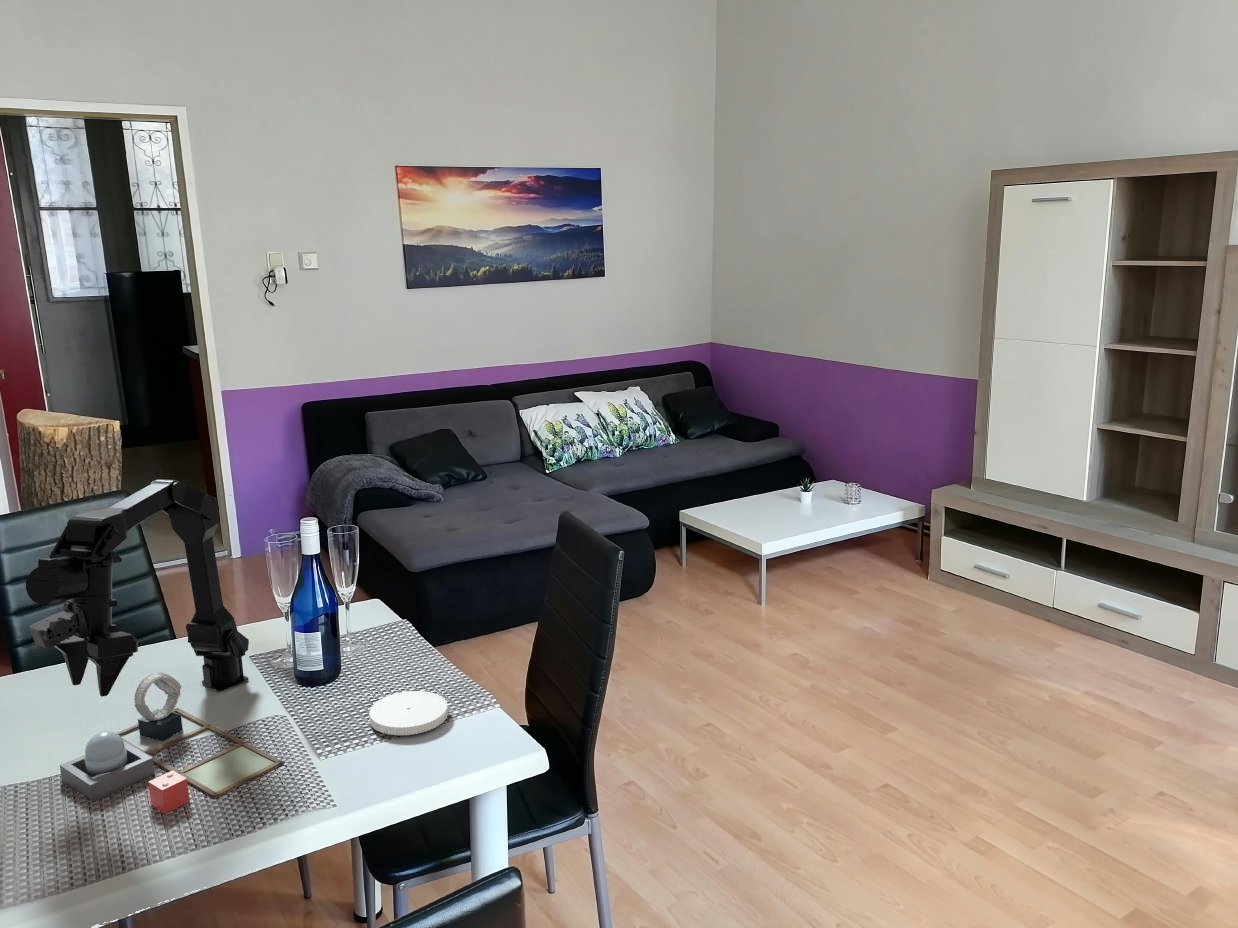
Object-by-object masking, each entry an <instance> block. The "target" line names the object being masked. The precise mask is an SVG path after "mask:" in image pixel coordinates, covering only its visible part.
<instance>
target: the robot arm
mask: <svg viewBox="0 0 1238 928" xmlns="http://www.w3.org/2000/svg"><path fill="white" fill-rule="evenodd" d="M159 512H162V513H164V514H166V515H167V516H168V520H169V522H170V526H171V528H172V530H173V531H174V532H175V534H176V535H177V536H178V537H179V539H180V540H181V541H182V542H183V545H184V551H185V555H186V562H187V569H188V574H189V580H190V581H189V582H190V586H191V593H192V599H193V604H194V614H193V616H192V618H191V620H190V621H189V622H188V623H186V626H185V629H186V633H187V643H189V645H190V647H191V648H192V649H193V651H194V654H195V656H196V657H203V664H202V666H201V668H202V677H203V680H201V684H202V685H203V686H205V687H208V688H211V689H213V690H215V691H217V692H224V691H225V690H229V689H230V688H231V689H232V688H233V687H236V686H238V685H241V684H243V683H245V682H247V681H249V677H248V676H247V675H244V668H243V667H244V666H243V657H244V656H246V652H248V650H249V644H250V643H249V642H250V641H249V638H247V637H246V636H245V635H243V634H242V633H241V632H239V631H238V627H237V624H236V620H235V618H234V615H232V614H231V613H230V611H229V610H228V609H227V608H226V607H225V605H224V603H223V596H222V595H223V594H222V589H221V582H220V577H219V570H218V564H217V557H216V552H215V545H214V538H213V537H214V535H215V532H216V531H217V528H218V526H219V523H220V506H219V502H218V499H217V498H216V497H215V496H213V495H212V494H206V493H204V492H202V491H201V490H197V489H194V488H192V487H189V486H187V485H186V484H185V483H183V482H181V481H179V480H175V479H159V478H158V479H155V480H152V481H151V482H150V483H149V485H147V486H146V487H144V488H142V489H140V490H138V491H136V492H134V493H132V494H131V495H129V496H127V497H125V498H124V499H122V500H120V501H118V502H117V503H115V504H113V505H111V506H109V507H107V508H103V509H96V510H90V511H86V512H83V513H78V514H76V515H74V516H72V517H71V518H70V519H68V521H67V522H66V526H65V527H64V530H63V531H62V533H61V535H60V537H59V539H58V540H57V541H56V544H55V546H54V548H53V549H52V551H51V553H50V554H49V558H45V557H44V558H39V559H38V560H37V567H35V568H34V569H32V570H31V571H30V573H29V575H28V576H27V579H26V581H25V590H26V593H27V595H28V597H29V599H31V600H32V601H33V602H34V603H35V604H38V605H41V606H42V605H43V606H44V605H48V604H54V603H58V602H62V601H65V602H64V603H63V610H62V611H60V612H57V613H54V614H51V615H49V616H47V617H45V618H43V619H40V620H39V621H36V622H34V623H32V624H30V625H29V627H28V628H29V631H30V634H31V636H32V637H33V640H34V644H35V645H36V646H40V647H43V649H51V648H53V647H54V648H55V649H57V650H58V651H60V653H62V656H63V659H64V661H65V665H66V669H67V671H68V675H69V678H70V681H71V684H72V686H79V685H81V684H82V681H83V678H84V676H85V673H86V669H87V666H88V662H89V660H90V661H91V662H92V663H93V664H94V665H95V669H96V675H97V686H98V692H99V696H100V697H107V696H108V695H109V694H110V692H111V690H112V688H113V687H114V685H115V683H116V681H117V679H118V678H119V675H120V674H121V671H122V670H123V668H124V667H125V665H126V664H127V662H128V660H129V659H130V658H131V657H133V656H134V653H137V652H139V639H138V638H137V637H136V636H135V635H134V634H131V633H129V632H125V631H117V630H118V629H117V628H118V627H117V624H114V623H112V613H113V612H112V609H113V607H114V608H115V607H118V599H115V598H113V565H114V564H120V563H122V562H123V558H122V557H121V556H120V555H118V554H117V553H116V552H115V550H116V549H117V548H118V547H119V546H121V545H122V544H123V542H124V541H126V540H127V538H128V533H129V531H130V530H132V529H133V528H134V527H137V526H138V525H140V524H141V523H143V522H144V521H146V520H147V519H149V518H150V517H152V516H154V515H156V514H157V513H159Z"/></svg>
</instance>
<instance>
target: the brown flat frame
mask: <svg viewBox="0 0 1238 928" xmlns="http://www.w3.org/2000/svg"><path fill="white" fill-rule="evenodd" d="M172 712H174V713H178V714H181V717H184V718H185V719H187V720H189V721H191V722H194V723H195V724H197V725H199V726H201V727H199V728H197V729H195V730H192V731H190V732H189V733H185V734H183V735H182V736H179V737H177V738H173V739H172V740H169V741H167V742H165V743H163V744H160V745H158V746H156V747H154V748H151V749H148V750H146V751H145V750H143V749H142V748H140V747H139V746H137V745H135V744H133V743H131V742H130V741H129V740H126V739H124V738H123V737H121V736H123V735H126V734H128V733H131V732H133V731H135V730H139V725H138V723H137V724H135V725H132V726H130V727H126V728H125V729H123V730H120V731H117V732H116V733H117V734H118V735H119V736H120V737H121V738H122V739H123V741H125V742H127V743H128V744H130V745H132V746H134V747H135V748H137V749H139V750H141V751H142V752H144V753H146V754H147V755H149V756H151V757H153V763H154V764H155V765H156V766H158V767H159V768H161V767H162V768H161V769H163V770H165V771H166V772H167V773H168V772H170V771H175V772H177V773H179V774H180V775H182V776H184V777H185V778H187V782H188V785H190V786H192V787H193V788H195V789H198V790H199V791H201V792H203V793H204V794H205V795H207V796H209V797H211V798H213V799H216V798H219V797H220V796H222V795H224V794H226V793H228V792H230V791H232V790H235V789H236V788H238V787H240V786H242V785H244V784H246V783H248V782H250V781H252V780H254V779H256V778H258V777H260V776H262V775H264V774H266V773H268V772H271V770H274V769H276V768H278V767H280V766H281V765H283V764H284V761H283V760H281V759H279V758H278V757H276V756H273V755H271V754H270V753H267V751H266V752H265V751H263V750H262V749H259V748H257V747H256V746H253V745H252V744H249V743H248V742H246V741H244V740H242V739H240V738H238V737H237V736H235V735H232V734H230V733H228V732H226V731H224V730H222V729H220V728H218V727H217V726H215V725H212V724H210V723H208V722H207V721H205V720H203V719H200V718H198V717H196V716H194V715H193V714H190V713H188V712H187V711H185V710H183V709H180V708H179V707H175V708H174V710H173V711H172ZM207 730H210V731H211V732H213V733H214V734H217V735H219V736H221V737H223V738H224V739H227V740H228V741H230V742H232V743H234V744H235V745H233V746H231V747H229V748H227V749H224V750H222V751H220V752H218V753H216V754H213V755H211V756H210V757H207V758H204V759H203V760H200V761H198V762H197V763H195V764H192V765H190V766H187V767H185V768H184V769H181V770H179V769H176V768H175V767H173V766H171V765H169V763H166V762H164V761H163V760H161V759H159V758H157V757H156V756H154V755H153V754H154V753H157V752H159V751H162V750H164V749H166V748H168V747H170V746H173V745H175V744H178V743H181V742H183V741H184V740H187V739H189V738H192V737H194V736H195V735H198V734H200V733H203V732H205V731H207Z"/></svg>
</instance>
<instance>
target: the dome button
mask: <svg viewBox="0 0 1238 928" xmlns="http://www.w3.org/2000/svg"><path fill="white" fill-rule="evenodd" d="M122 738H123V737H121V736H119V735H118V734H117V732H114V731H110V730H105V731H100V732H98V733H96V734H93V736H92V737H90V738H89V740H88V741H87V742H86V745H85V749H84V755H85V757H84V759H85V766H86V771H87V772H89V773H91V774H104V773H109V772H112V771H115V770H117V769H119V768H121V767H123V766H124V765H125V764H126V763H127V760H128V759H127V751H126V747H125V746H124V742H123V739H124V738H123V739H122Z"/></svg>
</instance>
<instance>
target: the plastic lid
mask: <svg viewBox="0 0 1238 928" xmlns="http://www.w3.org/2000/svg"><path fill="white" fill-rule="evenodd" d="M448 705H449V704H448V701H447V700H446V699H445V697H443V696H442V695H439V694H437V693H434V692H431V691H430V692H429V691H426V690H425V691H424V690H420V691H419V690H417V691H416V690H410V691H409V690H408V691H403V692H402V691H400V692H397V693H393V694H390V695H387V696H385V697H383V698H380V699H379V700H377V701H375V703H374V704H372V705H371V707H370V708H369V710H368V717H369V720H368V721H369V724H370V726H371V728H373V729H374V730H375V731H377V732H380V733H381V734H385V735H388V736H389V735H390V736H410V735H418V734H421V733H425V732H428V731H431V730H434V728H437V727H439V726H440V725H442V724H443V723H444V722H445V721H446V720H447V718H448V715H449V714H448V713H449V707H448Z"/></svg>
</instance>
